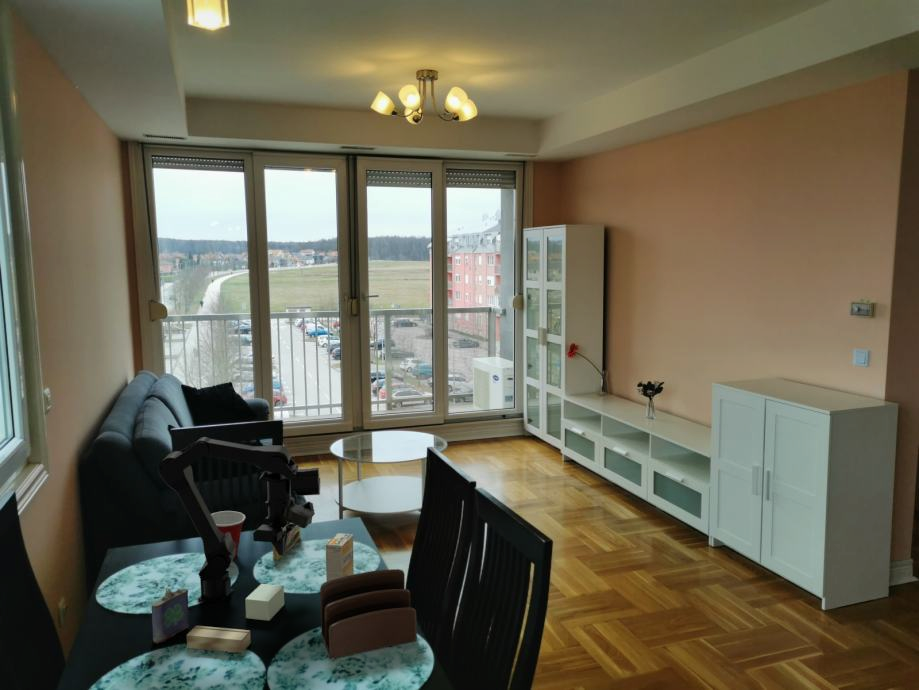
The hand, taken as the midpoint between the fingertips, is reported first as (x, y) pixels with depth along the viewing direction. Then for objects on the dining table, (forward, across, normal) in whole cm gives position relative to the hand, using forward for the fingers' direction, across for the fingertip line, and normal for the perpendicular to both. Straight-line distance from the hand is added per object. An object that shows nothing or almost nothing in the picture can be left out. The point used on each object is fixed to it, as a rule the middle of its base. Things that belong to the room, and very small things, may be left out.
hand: (281, 554), depth 175 cm
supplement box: (+10, +5, -14) cm, 18 cm away
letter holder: (+10, -18, -29) cm, 35 cm away
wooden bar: (+10, -26, +4) cm, 28 cm away
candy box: (+10, +26, +10) cm, 30 cm away
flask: (+10, -23, +17) cm, 30 cm away
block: (+10, -10, 0) cm, 14 cm away
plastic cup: (+10, +18, +25) cm, 32 cm away
